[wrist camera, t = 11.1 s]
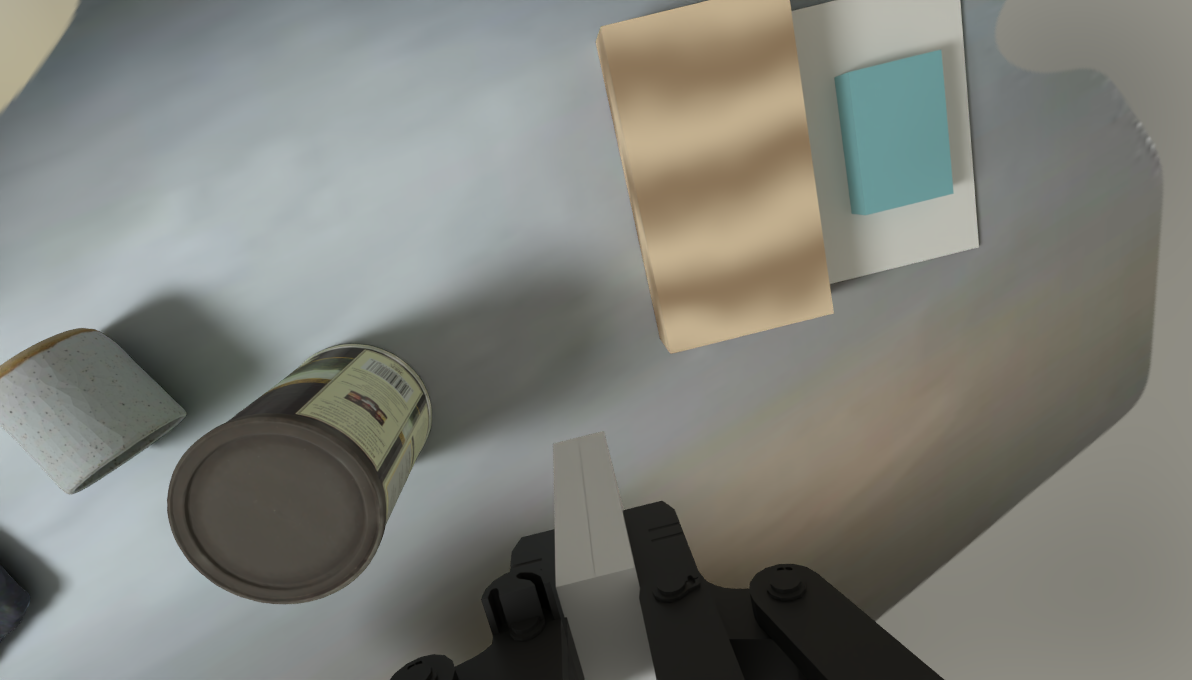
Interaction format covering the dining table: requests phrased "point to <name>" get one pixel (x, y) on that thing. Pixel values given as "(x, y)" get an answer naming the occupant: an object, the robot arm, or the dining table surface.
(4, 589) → the dark slate chunk
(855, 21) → the mat
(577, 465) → the robot arm
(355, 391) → the coffee can
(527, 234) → the dining table surface
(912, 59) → the teal rectangular block
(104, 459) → the ceramic mug
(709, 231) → the tan flat rectangular slab
